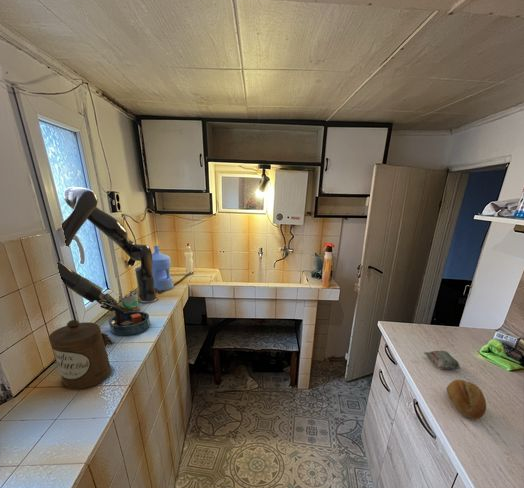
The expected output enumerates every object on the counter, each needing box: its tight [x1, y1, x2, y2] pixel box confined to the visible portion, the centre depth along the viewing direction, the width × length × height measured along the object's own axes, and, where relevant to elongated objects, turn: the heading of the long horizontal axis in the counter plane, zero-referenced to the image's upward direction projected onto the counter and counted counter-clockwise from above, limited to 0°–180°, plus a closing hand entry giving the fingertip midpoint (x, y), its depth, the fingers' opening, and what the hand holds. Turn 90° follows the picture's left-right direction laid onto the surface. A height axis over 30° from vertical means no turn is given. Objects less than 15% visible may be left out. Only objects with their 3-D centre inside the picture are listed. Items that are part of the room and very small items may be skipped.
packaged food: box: [423, 350, 462, 370], centre depth 113 cm, size 9×12×5 cm
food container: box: [120, 290, 140, 313], centre depth 153 cm, size 12×6×10 cm, turn 179°
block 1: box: [120, 321, 133, 326], centre depth 131 cm, size 4×4×4 cm
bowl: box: [108, 310, 151, 336], centre depth 136 cm, size 18×18×5 cm
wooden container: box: [48, 319, 112, 390], centre depth 97 cm, size 15×15×22 cm
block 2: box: [131, 313, 143, 324], centre depth 139 cm, size 4×4×4 cm
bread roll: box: [446, 379, 487, 420], centre depth 90 cm, size 10×15×8 cm, turn 168°
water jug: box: [152, 245, 175, 292], centre depth 186 cm, size 16×16×28 cm
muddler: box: [114, 303, 122, 326], centre depth 131 cm, size 4×4×11 cm
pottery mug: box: [101, 332, 113, 348], centre depth 118 cm, size 12×10×8 cm
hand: (123, 311), depth 131 cm, fingers closed on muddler, 2 cm apart
